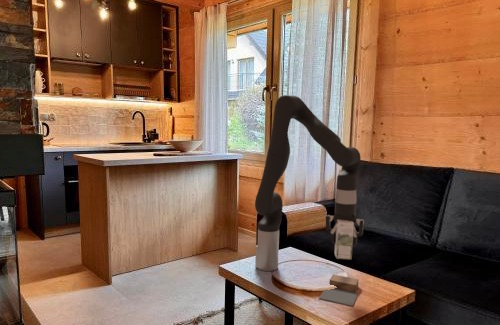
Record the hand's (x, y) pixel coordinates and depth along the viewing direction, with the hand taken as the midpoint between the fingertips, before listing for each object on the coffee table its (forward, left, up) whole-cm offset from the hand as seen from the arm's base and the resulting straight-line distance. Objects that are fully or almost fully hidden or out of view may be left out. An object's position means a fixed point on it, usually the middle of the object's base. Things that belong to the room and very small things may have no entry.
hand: (343, 244), depth 138 cm
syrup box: (0, 0, -5) cm, 5 cm away
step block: (0, +5, -18) cm, 19 cm away
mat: (0, -4, -18) cm, 19 cm away
